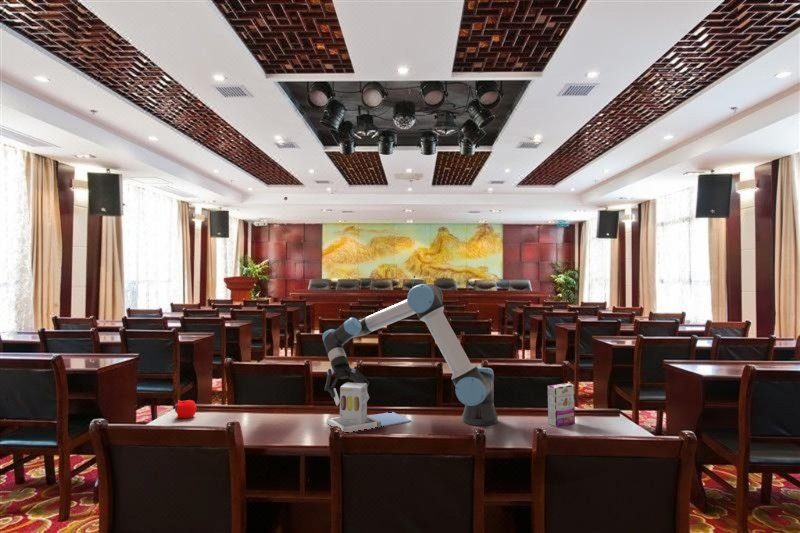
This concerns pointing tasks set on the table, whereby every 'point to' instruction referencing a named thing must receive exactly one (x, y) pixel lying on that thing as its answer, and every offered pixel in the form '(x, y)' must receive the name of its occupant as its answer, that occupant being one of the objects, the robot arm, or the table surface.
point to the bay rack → (371, 421)
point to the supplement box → (353, 404)
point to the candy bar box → (561, 405)
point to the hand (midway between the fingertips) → (353, 401)
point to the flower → (186, 409)
